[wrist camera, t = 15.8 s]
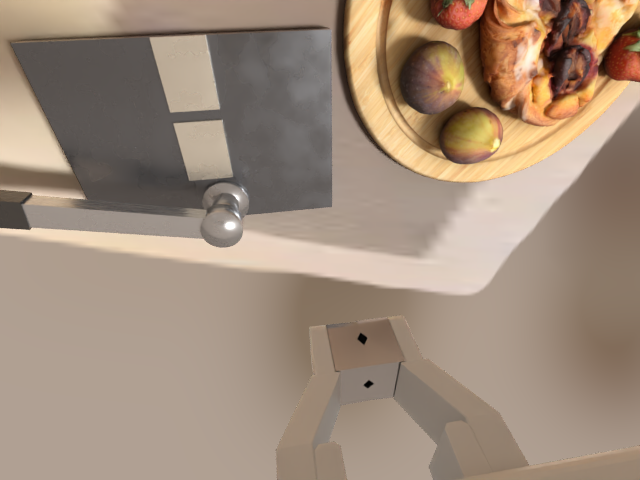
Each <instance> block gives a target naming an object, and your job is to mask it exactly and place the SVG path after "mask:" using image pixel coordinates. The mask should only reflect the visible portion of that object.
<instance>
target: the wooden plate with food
mask: <svg viewBox="0 0 640 480" xmlns="http://www.w3.org/2000/svg"><path fill="white" fill-rule="evenodd" d="M343 53H344V62H345V69H346V75H347V81H348V85H349V89H350V92H351V96H352V100H353V103H354V105H355V108H356V110H357V113H358V115H359V117H360V119H361V120H362V122H363V124H364V126H365V127H366V129H367V131H368V132H369V134H370V135H371V137H372V138H373V139H374V141H375V142H376V143H377V144H378V145H379V146H380V148H381V149H382V150H383V151H384V152H385V153H386V154H387V155H389V156H390V157H391V158H392V159H393V160H395V161H396V162H398V163H399V164H401V165H402V166H404V167H405V168H407V169H409V170H411V171H413V172H415V173H417V174H420V175H422V176H425V177H429V178H433V179H436V180H441V181H447V182H479V181H486V180H491V179H495V178H499V177H502V176H506V175H509V174H512V173H515V172H517V171H520V170H523V169H525V168H527V167H529V166H531V165H534V164H536V163H538V162H540V161H541V160H543V159H545V158H547V157H548V156H550V155H552V154H553V153H555V152H557V151H558V150H560V149H561V148H563V147H564V146H566V145H567V144H568V143H570V142H571V141H572V140H573V139H575V138H576V137H577V136H579V135H580V134H581V133H582V132H583V131H585V130H586V129H587V128H588V127H589V126H590V125H591V124H592V123H593V122H594V121H596V120H597V119H598V118H599V117H600V116H601V115H602V114H603V113H604V112H605V111H606V110H607V108H608V107H609V106H610V105H611V104H612V103H613V102H614V101H615V100H616V99H617V97H618V96H619V95H620V94H621V93H622V91H623V90H624V89H625V88H626V86H627V85H628V84H629V83H630V81H635V82H640V0H346V5H345V13H344V24H343Z"/></svg>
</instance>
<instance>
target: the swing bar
mask: <svg viewBox="0 0 640 480" xmlns="http://www.w3.org/2000/svg"><path fill="white" fill-rule="evenodd" d="M32 227H33V228H48V229H63V230H79V231H94V232H109V233H124V234H139V235H155V236H170V237H185V238H200V239H204V240H205V241H206V242H208V243H209V244H211V245H213V246H216V247H230V246H233V245H235V244H236V243H237V242H238V241H239V240H240V239H241V237H242V233H243V217H242V214H241V213H240V212H239V210H237V209H236V208H235V207H233V206H231V205H228V204H216V205H213V206H211V207H209V208H208V209H207V210H202V209H190V208H179V207H167V206H155V205H143V204H131V203H119V202H107V201H95V200H83V199H71V198H59V197H48V196H36V195H32V193H30V192H18V191H6V190H0V228H10V229H26V230H30V229H31V228H32Z"/></svg>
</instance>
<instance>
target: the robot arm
mask: <svg viewBox="0 0 640 480" xmlns="http://www.w3.org/2000/svg"><path fill="white" fill-rule="evenodd" d="M309 332H310V348H311V358H312V368H313V374H314V375H312V376H311V378H310V380H309V382H308V384H307V386H306V389H305V390H304V392H303V394H302V397H301V399H300V401H299V403H298V405H297V407H296V409H295V411H294V413H293V415H292V418H291V419H290V422H289V424H288V426H287V428H286V430H285V432H284V434H283V436H282V439H281V441H280V442H279V445H278V447H277V449H276V462H277V480H347V478H346V472H345V467H344V461H343V456H342V451H341V446H340V445H338V444H337V443H336V442H329V439H330V436H331V433H332V430H333V427H334V425H335V422H336V419H337V416H338V412H339V410H340V405H346V404H350V403H356V402H362V401H368V400H375V399H383V398H391V397H394V399H395V400H396V402H398V404H399V405H400V406H401V407H402V408H403V409H404V410H405V411H406V412H407V413H408V414H409V415H410V416H411V417H412V419H413V420H414V421H415V422H416V423H417V424H418V425H419V426H420V427H421V428H422V429H423V430H424V431H425V432H426V433H427V434H428V435H429V437H430V438H431V439H432V440H433V441H434V442H435V443H436V444H437V448H436V450H435V453H434V455H433V458H432V460H431V462H430V465H429V469H430V472H431V475H432V478H433V480H640V445H639V446H633V447H628V448H623V449H617V450H612V451H606V452H601V453H595V454H590V455H585V456H579V457H574V458H569V459H563V460H557V461H552V462H547V463H542V464H536V465H530V466H529V464H528V462H527V460H526V459H525V457H524V455H523V454H522V452H521V450H520V448H519V446H518V445H517V443H516V441H515V439H514V438H513V436H512V434H511V432H510V431H509V429H508V427H507V425H506V424H505V422H504V420H503V418H502V417H501V415H500V413H499V412H498V411H496V410H495V409H494V408H492V407H491V406H490V405H488V404H487V403H486V402H484V401H483V400H482V399H480V398H479V397H478V396H476V395H475V394H474V393H473V392H471V391H470V390H469V389H467V388H466V387H465V386H463V385H462V384H461V383H459V382H458V381H457V380H456V379H454V378H453V377H452V376H450V375H449V374H448V373H446V372H445V371H444V370H442V369H441V368H440V367H439V366H437V365H436V364H435V363H433V362H432V361H431V360H429V359H423V357H422V355H421V353H420V351H419V348H418V346H417V344H416V342H415V339H414V337H413V335H412V333H411V330H410V328H409V326H408V324H407V322H406V319H405V317H404V316H402V315H399V316H391V317H381V318H375V319H368V320H361V321H356V322H350V323H341V324H332V325H326V326H325V325H323V326H314V327H310V328H309ZM328 442H329V443H328Z"/></svg>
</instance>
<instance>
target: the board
mask: <svg viewBox="0 0 640 480" xmlns="http://www.w3.org/2000/svg"><path fill="white" fill-rule="evenodd" d="M10 44H11V46H12V48H13V50H14V52H15V54H16V56H17V58H18V60H19V62H20V64H21V66H22V68H23V70H24V72H25V74H26V76H27V78H28V80H29V82H30V84H31V86H32V88H33V90H34V92H35V94H36V96H37V98H38V100H39V102H40V104H41V106H42V108H43V110H44V112H45V114H46V116H47V118H48V120H49V122H50V124H51V126H52V129H53V131H54V133H55V135H56V137H57V139H58V141H59V143H60V145H61V147H62V149H63V151H64V153H65V155H66V157H67V159H68V161H69V163H70V165H71V167H72V169H73V171H74V173H75V175H76V177H77V179H78V181H79V183H80V185H81V187H82V189H83V191H84V193H85V195H86V197H87V199H88V200H95V201H107V202H119V203H131V204H143V205H155V206H167V207H179V208H190V209H202V210H207V209H208V208H209V207H211V206H213V205H216V204H228V205H231V206H233V207H235V208H236V209H237V210H239V212H240V213H241V214H242V217H244V216H245V215H251V214H261V213H272V212H282V211H293V210H303V209H314V208H324V207H332V70H331V29H329V28H315V29H291V30H267V31H243V32H219V33H196V34H172V35H148V36H124V37H100V38H76V39H52V40H28V41H18V42H13V43H10Z"/></svg>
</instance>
